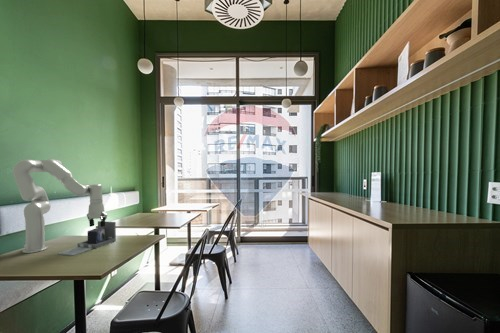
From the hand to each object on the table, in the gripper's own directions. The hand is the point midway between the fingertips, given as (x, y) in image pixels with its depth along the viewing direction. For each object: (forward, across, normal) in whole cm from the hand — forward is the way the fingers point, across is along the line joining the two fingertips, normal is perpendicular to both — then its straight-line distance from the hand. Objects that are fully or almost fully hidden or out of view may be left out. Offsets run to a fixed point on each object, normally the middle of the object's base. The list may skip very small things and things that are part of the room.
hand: (97, 226), depth 173 cm
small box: (+13, -1, 0) cm, 13 cm away
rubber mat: (+12, -1, -16) cm, 20 cm away
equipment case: (+13, -1, 0) cm, 13 cm away
